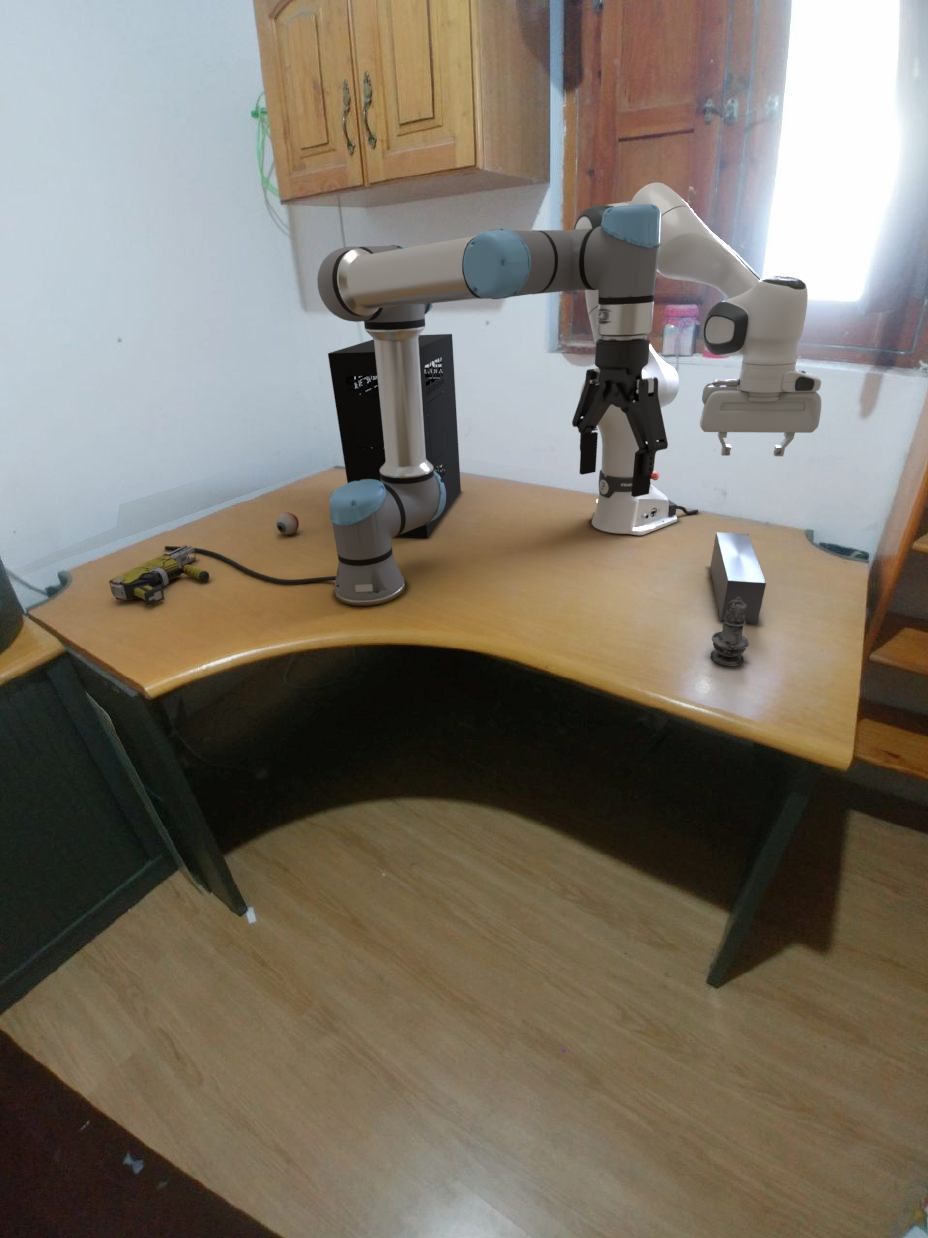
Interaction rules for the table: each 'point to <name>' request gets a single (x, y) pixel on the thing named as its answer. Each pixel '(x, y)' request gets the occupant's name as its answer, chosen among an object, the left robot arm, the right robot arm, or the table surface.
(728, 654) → the dark grey chess piece
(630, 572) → the table surface
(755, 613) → the box
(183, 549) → the toy gun
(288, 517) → the eyeball
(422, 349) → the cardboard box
